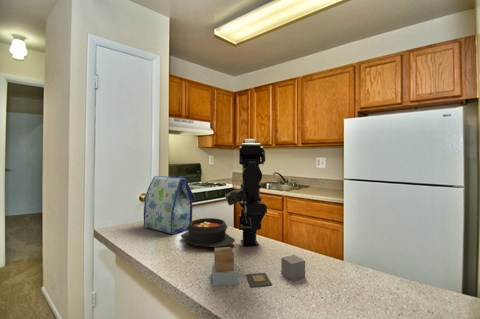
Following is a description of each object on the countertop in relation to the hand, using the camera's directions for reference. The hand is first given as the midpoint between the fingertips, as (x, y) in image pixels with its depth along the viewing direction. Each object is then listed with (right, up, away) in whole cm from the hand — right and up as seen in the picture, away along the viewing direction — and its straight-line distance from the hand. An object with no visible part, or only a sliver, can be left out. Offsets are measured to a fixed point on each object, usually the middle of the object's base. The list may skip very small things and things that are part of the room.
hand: (251, 228), depth 81 cm
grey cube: (+12, -12, -7) cm, 19 cm away
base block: (-8, -12, -9) cm, 17 cm away
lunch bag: (-39, -12, +42) cm, 59 cm away
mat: (+2, -12, -10) cm, 16 cm away
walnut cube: (-8, -9, -9) cm, 15 cm away
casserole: (-17, -12, +22) cm, 31 cm away
